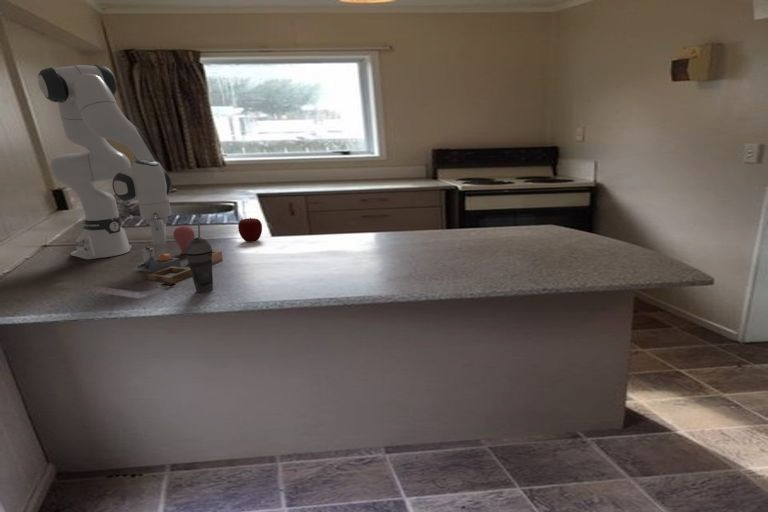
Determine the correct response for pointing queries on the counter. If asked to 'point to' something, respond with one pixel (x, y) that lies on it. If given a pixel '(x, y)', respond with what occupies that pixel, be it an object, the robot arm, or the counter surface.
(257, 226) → the apple
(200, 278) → the beverage cup
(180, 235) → the light bulb
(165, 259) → the test button
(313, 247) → the counter surface
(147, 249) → the cell
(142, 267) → the cradle
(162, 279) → the tray
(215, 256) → the orange brown square block
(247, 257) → the counter surface
